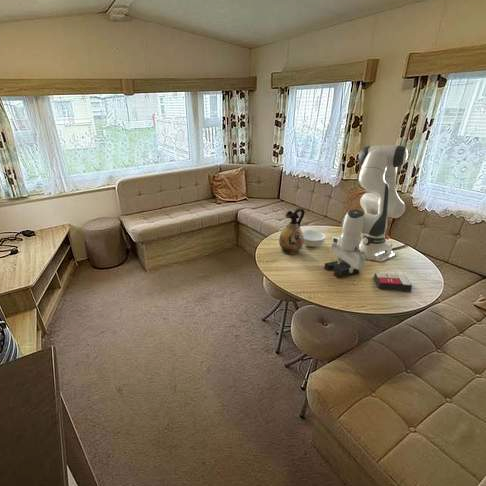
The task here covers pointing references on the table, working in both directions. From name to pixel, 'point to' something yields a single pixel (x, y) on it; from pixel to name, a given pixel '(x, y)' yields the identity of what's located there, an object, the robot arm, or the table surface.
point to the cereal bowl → (313, 238)
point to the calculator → (392, 281)
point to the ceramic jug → (292, 233)
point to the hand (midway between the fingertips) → (344, 268)
